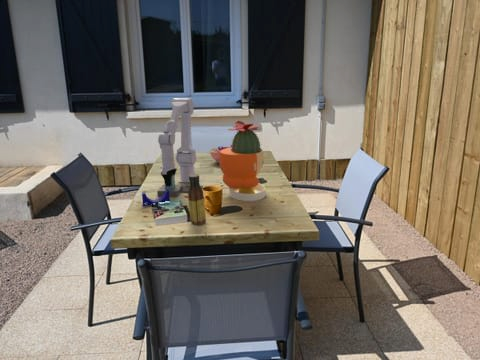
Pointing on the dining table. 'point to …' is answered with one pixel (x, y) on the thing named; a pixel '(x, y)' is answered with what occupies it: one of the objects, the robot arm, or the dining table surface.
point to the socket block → (170, 190)
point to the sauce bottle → (196, 201)
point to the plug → (171, 183)
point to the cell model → (217, 152)
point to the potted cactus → (243, 164)
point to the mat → (188, 189)
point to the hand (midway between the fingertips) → (169, 184)
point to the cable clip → (161, 199)
